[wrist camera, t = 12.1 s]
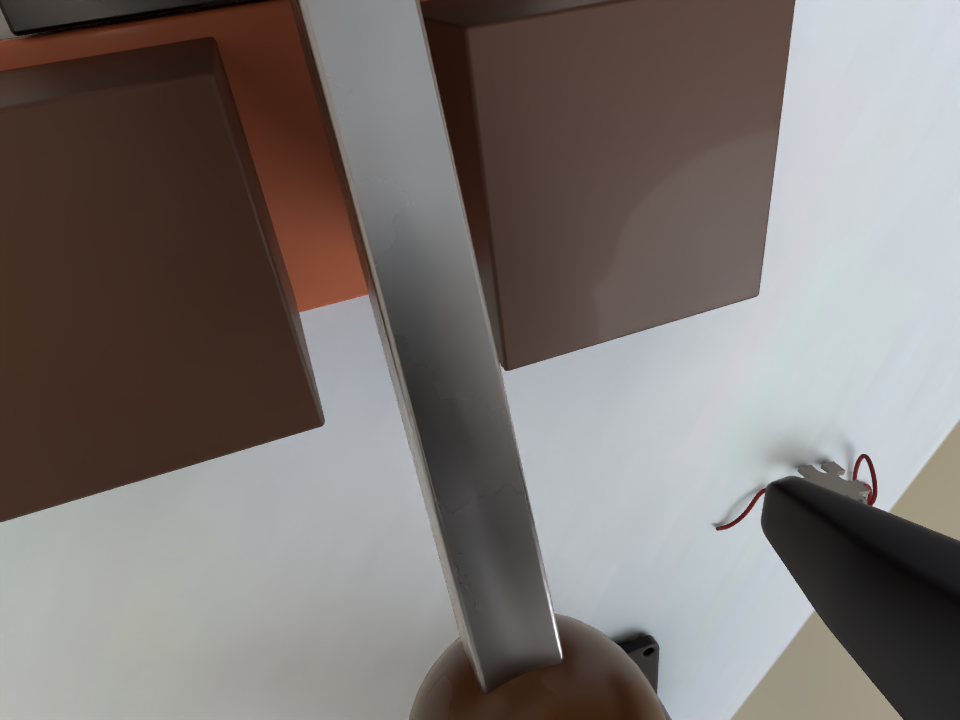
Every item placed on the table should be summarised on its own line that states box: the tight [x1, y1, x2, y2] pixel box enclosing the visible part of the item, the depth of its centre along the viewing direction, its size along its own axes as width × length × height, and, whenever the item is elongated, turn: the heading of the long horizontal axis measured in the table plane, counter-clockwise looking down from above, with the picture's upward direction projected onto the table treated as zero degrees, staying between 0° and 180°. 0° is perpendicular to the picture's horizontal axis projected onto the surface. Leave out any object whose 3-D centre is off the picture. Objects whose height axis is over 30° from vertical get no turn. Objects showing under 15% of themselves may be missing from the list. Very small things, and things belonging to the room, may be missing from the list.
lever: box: [290, 0, 666, 720], centre depth 7 cm, size 16×4×4 cm, turn 7°
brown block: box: [0, 0, 795, 522], centre depth 12 cm, size 6×14×6 cm, turn 97°
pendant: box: [716, 454, 877, 531], centre depth 25 cm, size 8×4×3 cm, turn 84°
